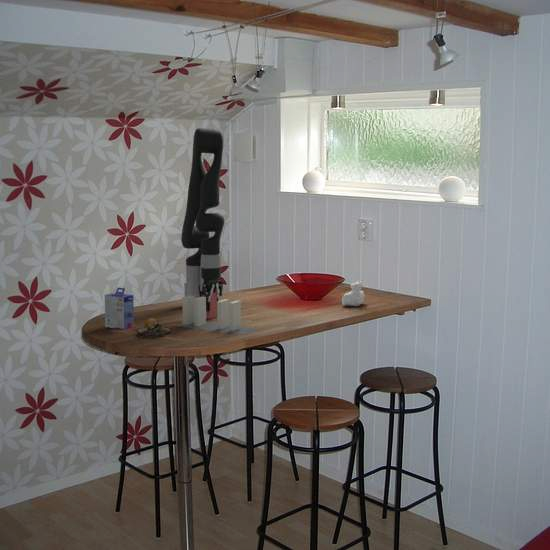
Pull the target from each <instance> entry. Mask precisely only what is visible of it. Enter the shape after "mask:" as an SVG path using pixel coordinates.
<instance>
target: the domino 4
mask: <svg viewBox="0 0 550 550" xmlns="http://www.w3.org/2000/svg"><path fill="white" fill-rule="evenodd" d="M241 326H242V300H234V301H231V302H230V301H229V331H235V330H238V329H240V328H241Z"/></svg>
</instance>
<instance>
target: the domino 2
mask: <svg viewBox="0 0 550 550" xmlns="http://www.w3.org/2000/svg"><path fill="white" fill-rule="evenodd" d="M206 322H207V318H206V297H199V298H196V299H194V326H197V327H199V326H202V325H204V324H206Z"/></svg>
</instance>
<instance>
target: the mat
mask: <svg viewBox="0 0 550 550" xmlns="http://www.w3.org/2000/svg"><path fill="white" fill-rule="evenodd" d="M176 327H179V328H180V327H182V328H189V329H196V330H204V331H211V332H219V333H227V334H234V335H242V336H245V335H247V334H250V333H253V332H255V331H258V330H261V328H260V327H251V326H245V325H241V328H240V329H238V330H235V331H229V327H227V328H225V329H222V330H221V329H217V322H213V321H212V322H211V321H206V324H204V325H202V326H199V327H197V326H194V323H192V324H189V325H183V323H180V324H177V325H176Z"/></svg>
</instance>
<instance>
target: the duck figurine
mask: <svg viewBox="0 0 550 550" xmlns="http://www.w3.org/2000/svg"><path fill="white" fill-rule="evenodd" d="M349 287H350V288H351V289H350V291H348V292H346V293H344V294H343V295H342V298H341V304H342V305H343V306H348V307H349V306H351V307H358V306H360V305H361V304H363V302H364V299H365V297H366V295H365V293H364V291H363V290H362V288H363V283H362V282H360V281H354V283H350V285H349Z"/></svg>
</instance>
